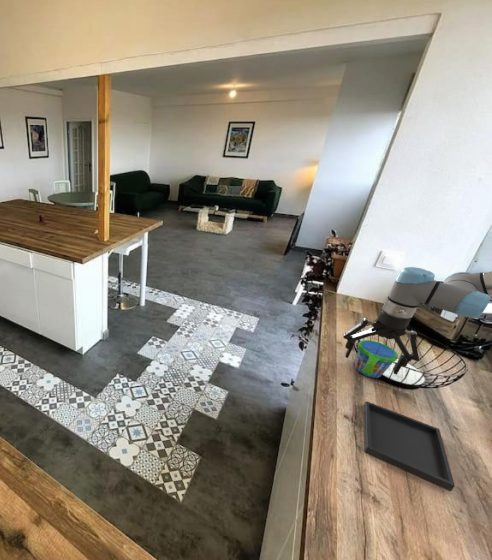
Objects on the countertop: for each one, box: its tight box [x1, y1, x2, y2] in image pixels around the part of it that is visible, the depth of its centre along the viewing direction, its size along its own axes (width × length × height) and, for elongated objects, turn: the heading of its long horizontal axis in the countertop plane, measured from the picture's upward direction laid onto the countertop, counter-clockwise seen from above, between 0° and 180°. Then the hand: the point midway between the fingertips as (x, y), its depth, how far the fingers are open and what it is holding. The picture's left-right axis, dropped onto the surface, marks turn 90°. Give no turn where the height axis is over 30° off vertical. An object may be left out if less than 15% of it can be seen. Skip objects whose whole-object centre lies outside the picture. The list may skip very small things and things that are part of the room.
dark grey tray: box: [362, 400, 456, 492], centre depth 85 cm, size 17×20×2 cm
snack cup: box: [354, 339, 399, 379], centre depth 109 cm, size 16×10×10 cm
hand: (369, 363), depth 110 cm, fingers open, 13 cm apart
